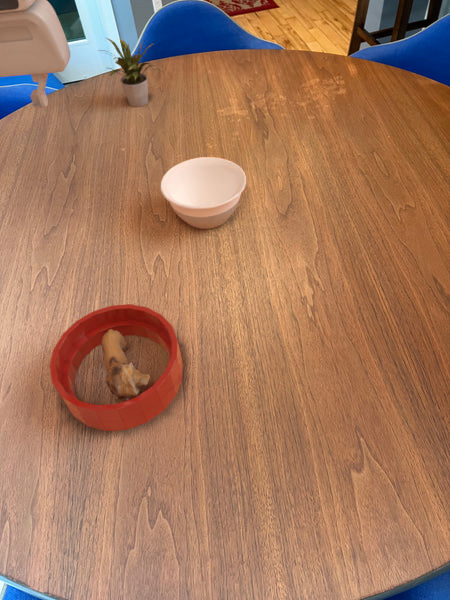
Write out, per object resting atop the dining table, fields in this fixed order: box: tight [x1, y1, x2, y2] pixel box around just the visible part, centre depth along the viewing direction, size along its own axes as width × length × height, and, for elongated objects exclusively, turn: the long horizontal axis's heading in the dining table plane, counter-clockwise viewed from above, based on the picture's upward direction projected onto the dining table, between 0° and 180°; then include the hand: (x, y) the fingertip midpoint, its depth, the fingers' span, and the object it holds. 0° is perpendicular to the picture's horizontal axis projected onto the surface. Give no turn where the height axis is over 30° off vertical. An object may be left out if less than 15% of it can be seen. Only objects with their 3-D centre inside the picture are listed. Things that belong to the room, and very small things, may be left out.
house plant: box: [98, 37, 155, 108], centre depth 123 cm, size 14×14×16 cm
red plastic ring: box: [49, 303, 184, 432], centre depth 69 cm, size 18×18×6 cm
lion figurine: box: [101, 329, 151, 404], centre depth 67 cm, size 15×5×9 cm, turn 30°
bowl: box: [160, 156, 247, 230], centre depth 91 cm, size 16×16×9 cm
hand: (6, 108), depth 63 cm, fingers open, 8 cm apart
